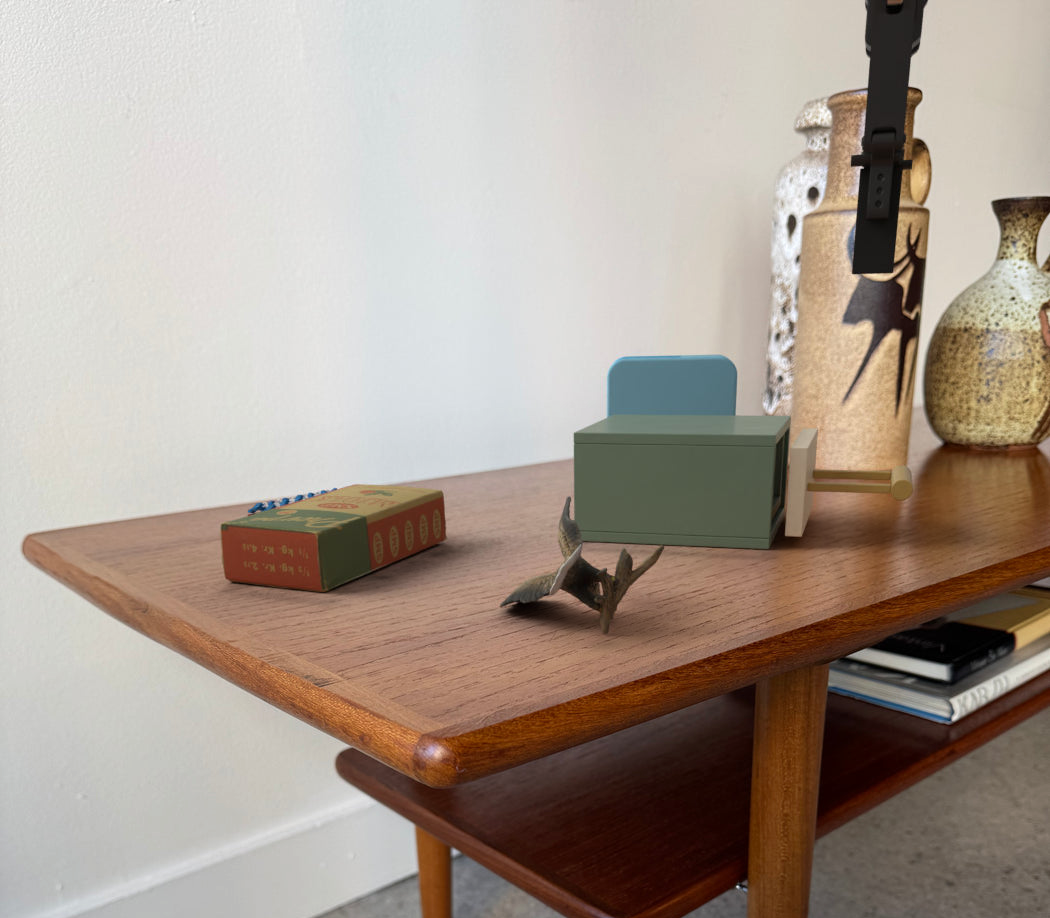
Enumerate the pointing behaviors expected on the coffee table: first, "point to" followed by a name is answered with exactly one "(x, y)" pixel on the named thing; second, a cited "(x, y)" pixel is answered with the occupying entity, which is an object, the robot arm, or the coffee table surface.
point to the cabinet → (680, 480)
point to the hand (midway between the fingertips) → (872, 272)
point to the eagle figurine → (583, 575)
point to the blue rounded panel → (672, 385)
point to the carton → (332, 536)
